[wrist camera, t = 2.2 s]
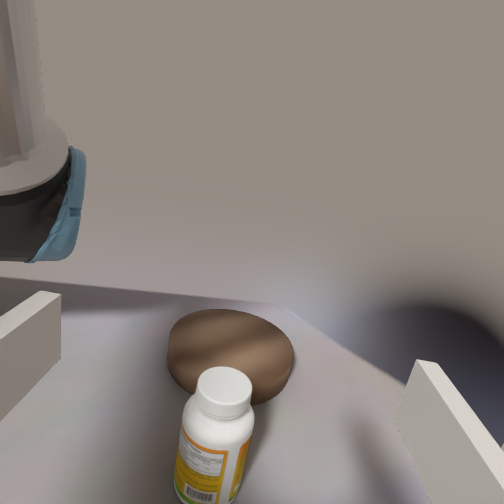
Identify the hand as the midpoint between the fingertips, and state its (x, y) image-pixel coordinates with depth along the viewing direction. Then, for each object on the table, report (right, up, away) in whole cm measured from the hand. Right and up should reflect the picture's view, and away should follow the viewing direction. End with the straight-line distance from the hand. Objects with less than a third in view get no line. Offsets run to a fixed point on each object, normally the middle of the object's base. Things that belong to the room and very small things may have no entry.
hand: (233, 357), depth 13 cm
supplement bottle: (-3, -15, +15) cm, 22 cm away
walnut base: (-2, -10, +30) cm, 32 cm away
